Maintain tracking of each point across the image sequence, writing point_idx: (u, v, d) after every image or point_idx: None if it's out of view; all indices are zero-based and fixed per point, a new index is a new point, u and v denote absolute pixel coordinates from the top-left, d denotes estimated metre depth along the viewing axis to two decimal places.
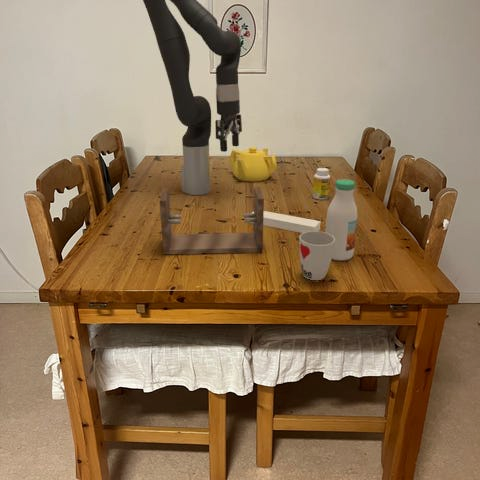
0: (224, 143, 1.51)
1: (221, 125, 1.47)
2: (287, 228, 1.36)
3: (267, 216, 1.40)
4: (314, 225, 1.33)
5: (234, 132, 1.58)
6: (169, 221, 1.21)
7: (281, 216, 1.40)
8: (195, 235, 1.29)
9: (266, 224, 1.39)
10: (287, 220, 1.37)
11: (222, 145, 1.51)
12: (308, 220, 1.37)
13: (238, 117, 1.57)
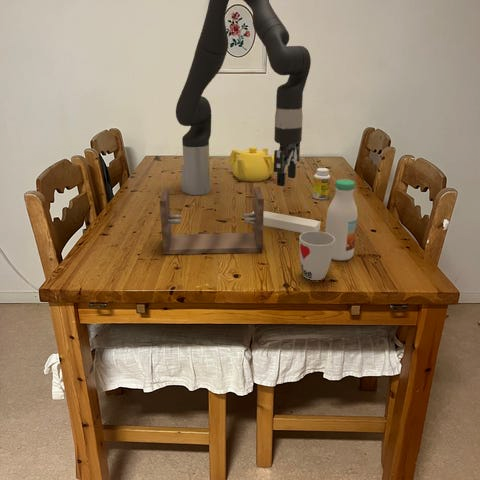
0: (282, 177, 1.28)
1: (281, 156, 1.24)
2: (287, 228, 1.36)
3: (267, 216, 1.40)
4: (314, 225, 1.33)
5: (291, 162, 1.36)
6: (169, 221, 1.21)
7: (281, 216, 1.40)
8: (195, 235, 1.29)
9: (266, 224, 1.39)
10: (287, 220, 1.37)
11: (280, 179, 1.29)
12: (308, 220, 1.37)
13: (297, 145, 1.34)
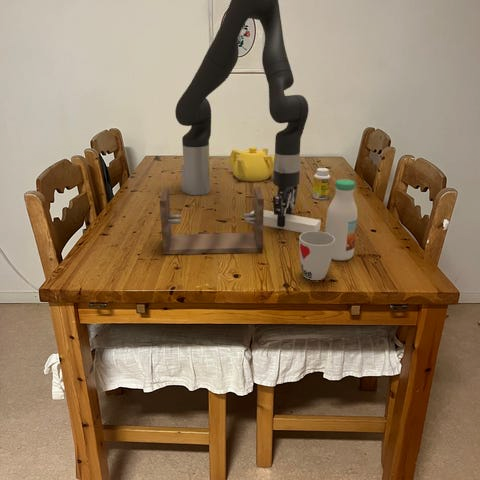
0: (282, 219, 1.35)
1: (280, 203, 1.30)
2: (287, 227, 1.36)
3: (267, 215, 1.39)
4: (314, 224, 1.33)
5: (287, 205, 1.40)
6: (169, 221, 1.21)
7: None
8: (195, 235, 1.29)
9: (266, 223, 1.39)
10: (287, 219, 1.37)
11: (280, 221, 1.35)
12: (308, 219, 1.37)
13: (294, 188, 1.39)
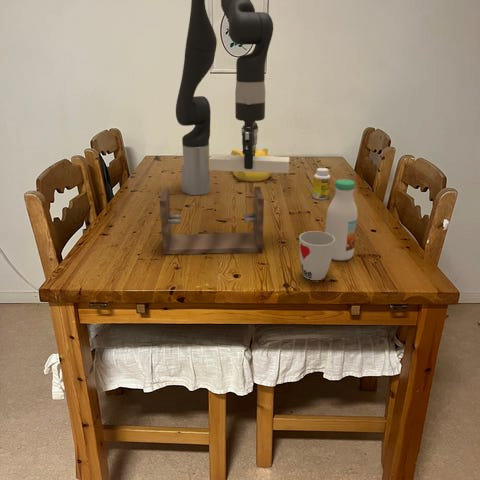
0: (251, 159, 1.20)
1: (251, 138, 1.14)
2: (256, 168, 1.21)
3: (230, 158, 1.22)
4: (286, 160, 1.21)
5: (250, 145, 1.25)
6: (169, 221, 1.21)
7: None
8: (195, 235, 1.29)
9: (230, 167, 1.22)
10: (254, 159, 1.22)
11: (248, 161, 1.20)
12: (276, 157, 1.24)
13: None
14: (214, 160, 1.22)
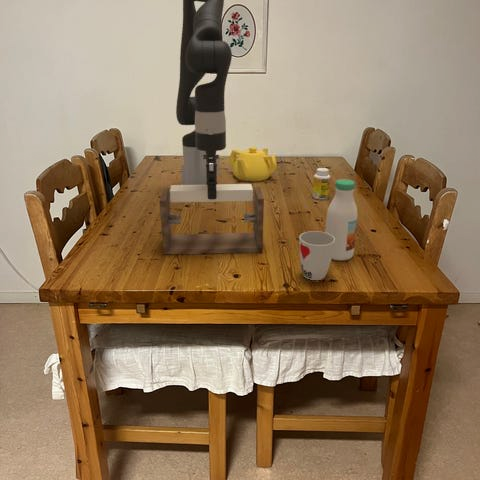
0: (214, 189, 1.16)
1: (215, 169, 1.11)
2: (220, 198, 1.18)
3: (192, 189, 1.18)
4: (250, 188, 1.19)
5: None
6: (169, 221, 1.21)
7: None
8: (195, 235, 1.29)
9: (193, 198, 1.18)
10: (217, 188, 1.18)
11: (212, 192, 1.16)
12: (238, 185, 1.21)
13: None
14: (176, 192, 1.17)
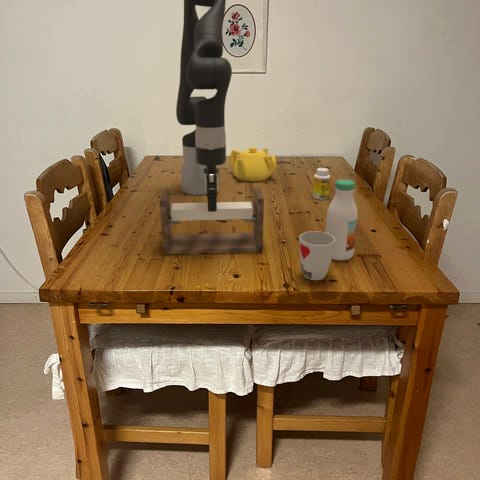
0: (214, 201, 1.16)
1: (215, 180, 1.12)
2: (220, 216, 1.20)
3: (192, 207, 1.20)
4: (250, 206, 1.21)
5: None
6: (169, 221, 1.21)
7: (207, 204, 1.22)
8: (195, 235, 1.29)
9: (194, 217, 1.20)
10: (217, 207, 1.21)
11: (212, 204, 1.16)
12: (238, 203, 1.24)
13: None
14: (176, 211, 1.19)
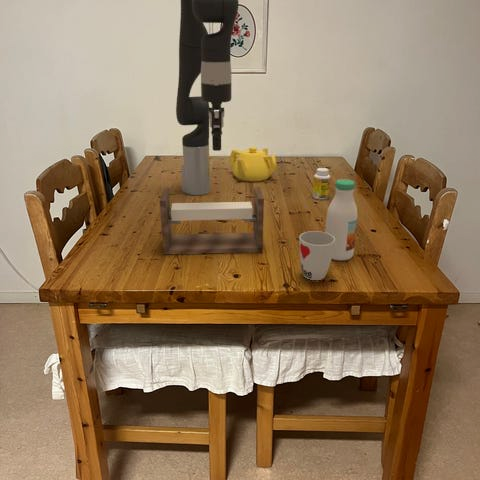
0: (219, 140, 1.16)
1: (220, 116, 1.11)
2: (220, 216, 1.20)
3: (192, 207, 1.20)
4: (250, 206, 1.21)
5: None
6: (169, 221, 1.21)
7: (207, 204, 1.22)
8: (195, 235, 1.29)
9: (194, 217, 1.20)
10: (217, 207, 1.21)
11: (217, 142, 1.15)
12: (238, 203, 1.24)
13: None
14: (176, 211, 1.19)
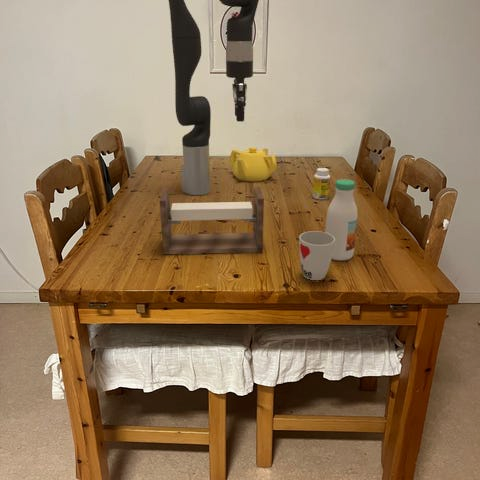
0: (243, 111, 1.30)
1: (244, 89, 1.25)
2: (220, 216, 1.20)
3: (192, 207, 1.20)
4: (250, 206, 1.21)
5: (237, 100, 1.37)
6: (169, 221, 1.21)
7: (207, 204, 1.22)
8: (195, 235, 1.29)
9: (194, 217, 1.20)
10: (217, 207, 1.21)
11: (241, 114, 1.30)
12: (238, 203, 1.24)
13: None
14: (176, 211, 1.19)
